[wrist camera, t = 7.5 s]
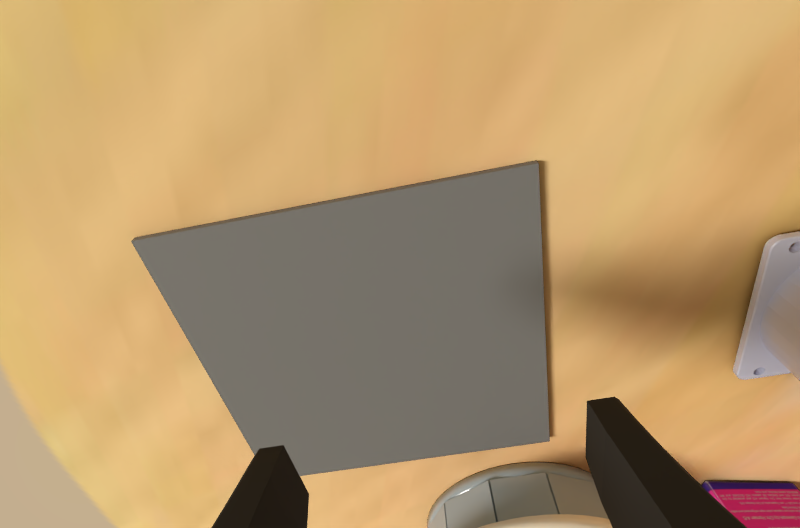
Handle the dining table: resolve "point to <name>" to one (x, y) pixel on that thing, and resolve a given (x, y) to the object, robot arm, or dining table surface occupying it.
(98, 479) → the dining table surface
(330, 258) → the mat
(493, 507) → the bowl
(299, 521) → the robot arm
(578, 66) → the dining table surface
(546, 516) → the lid
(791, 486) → the supplement box
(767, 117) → the dining table surface
